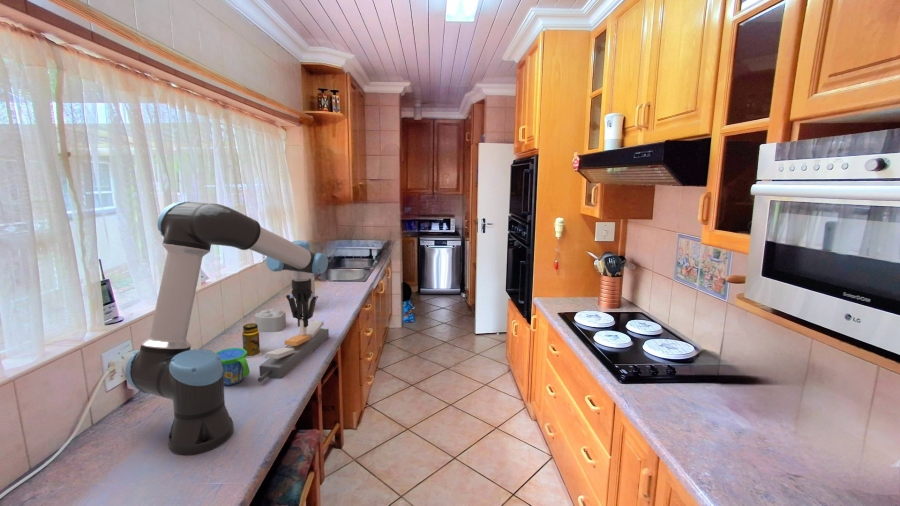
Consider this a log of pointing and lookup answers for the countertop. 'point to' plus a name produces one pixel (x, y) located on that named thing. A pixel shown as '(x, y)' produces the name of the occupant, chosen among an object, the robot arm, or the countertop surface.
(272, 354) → the rocker
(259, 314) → the lumpy-topped squat cylinder
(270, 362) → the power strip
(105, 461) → the countertop surface
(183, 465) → the countertop surface
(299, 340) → the rocker
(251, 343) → the condiment
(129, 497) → the countertop surface
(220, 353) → the snack cup
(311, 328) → the white flat slab
